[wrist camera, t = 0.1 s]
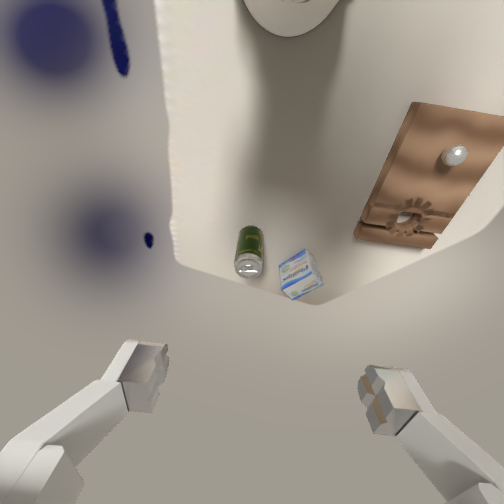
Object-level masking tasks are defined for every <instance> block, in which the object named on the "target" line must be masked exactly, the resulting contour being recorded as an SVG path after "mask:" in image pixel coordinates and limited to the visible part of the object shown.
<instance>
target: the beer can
mask: <svg viewBox="0 0 504 504" xmlns="http://www.w3.org/2000/svg"><path fill="white" fill-rule="evenodd" d="M234 267H235V271H236V273H237V274H238V275H239V276H240V277H242V278H246V279H252V278H255V277H257V276H258V275H259V274H260V273H261V271H262V268H263V234H262V231H261V230H260V229H259V228H257V227H255V226H246V227H244V228H243V229H242V230H241V231H240V233H239V237H238V243H237V249H236V255H235V260H234Z"/></svg>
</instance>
